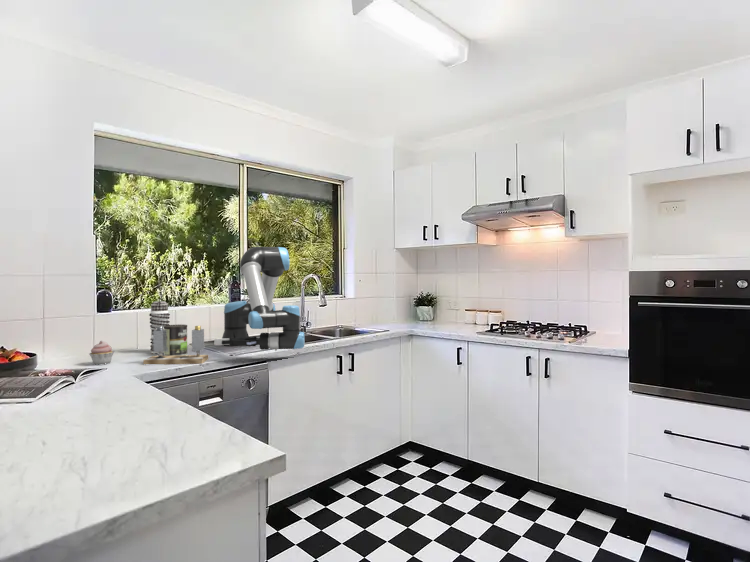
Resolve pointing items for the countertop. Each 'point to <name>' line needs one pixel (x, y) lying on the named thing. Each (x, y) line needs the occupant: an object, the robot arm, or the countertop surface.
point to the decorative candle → (158, 318)
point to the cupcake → (101, 353)
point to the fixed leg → (159, 341)
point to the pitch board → (176, 359)
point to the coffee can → (176, 340)
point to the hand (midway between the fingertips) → (214, 342)
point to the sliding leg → (197, 340)
